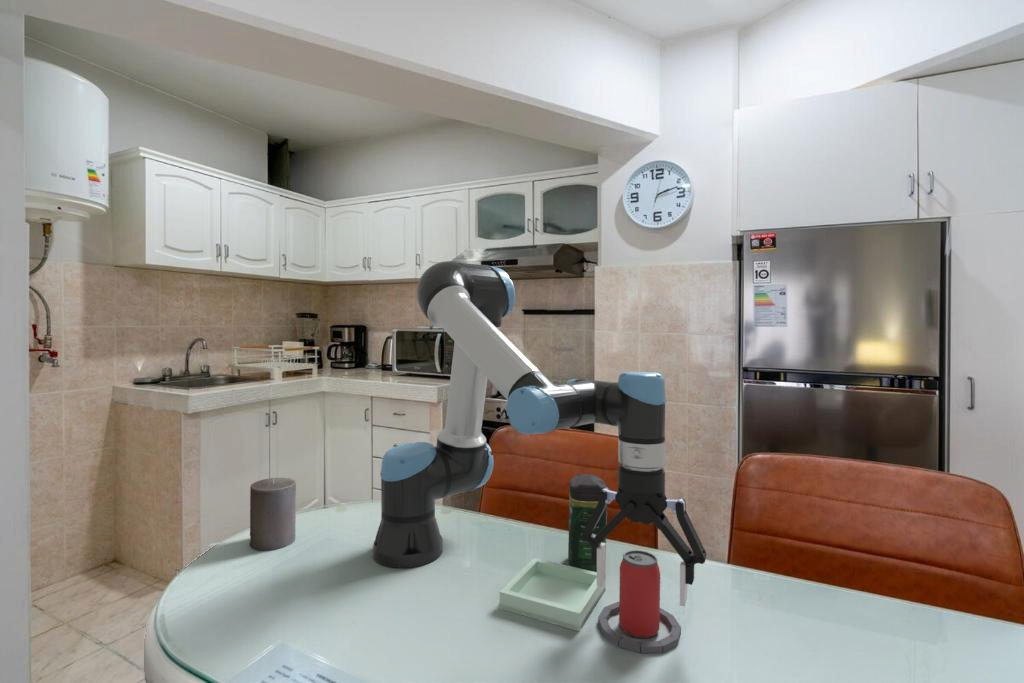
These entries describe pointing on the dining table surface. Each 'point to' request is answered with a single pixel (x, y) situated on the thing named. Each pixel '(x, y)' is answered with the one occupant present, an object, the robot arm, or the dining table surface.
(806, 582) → the dining table surface
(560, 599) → the bin
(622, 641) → the socket ring
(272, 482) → the pillar candle
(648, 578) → the beer can
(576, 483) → the coffee jar
